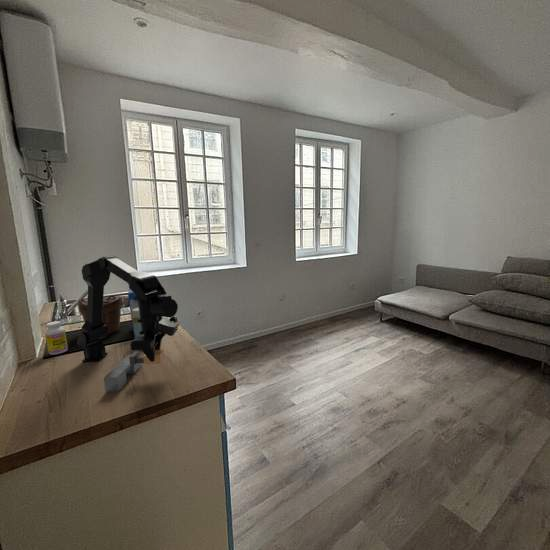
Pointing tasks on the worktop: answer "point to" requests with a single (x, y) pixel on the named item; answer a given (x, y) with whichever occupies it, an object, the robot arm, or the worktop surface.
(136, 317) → the bottle
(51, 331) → the supplement bottle
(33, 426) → the worktop surface
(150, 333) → the robot arm
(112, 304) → the brown plant pot
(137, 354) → the plug
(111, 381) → the housing
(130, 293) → the milk carton
